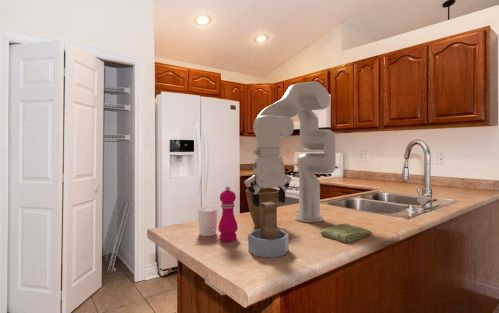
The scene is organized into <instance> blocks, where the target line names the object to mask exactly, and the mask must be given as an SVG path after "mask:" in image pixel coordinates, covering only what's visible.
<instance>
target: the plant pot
mask: <svg viewBox="0 0 499 313" xmlns="http://www.w3.org/2000/svg"><path fill="white" fill-rule="evenodd" d="M279 190H280V189H279V188H276V187H274V188H261V189H260V190H259V192H258V194H259V207H257V206H255V205H253V203H252V193H251V192H250V191H249V190H248V189H247V188H246V190H245V195H246V201H247V205H248V211H249V213H250V217H251V219H252V222H253V225H254V227H255V228H257V227H258V229H260V203H265V202H272V203H275V204H277V206H278V205H279V201H278V191H279Z"/></svg>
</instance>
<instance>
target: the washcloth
mask: <svg viewBox="0 0 499 313" xmlns="http://www.w3.org/2000/svg"><path fill="white" fill-rule="evenodd" d="M320 235H321V236H322V237H326V238H328V239H332V240H336V241H337V242H341V243H345V244H348V243H351V242H355V241H357V240H359V239H363V238H365V237H368V236H371V235H373V232H372V231H371V230H370V229H367V228H364V227H361V226H359V225H358V226H357V225H352V224H350V223H341V224H336V225H334V226H329V227H326V228H325V227H324V228H323V229H321V231H320Z"/></svg>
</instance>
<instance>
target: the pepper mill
mask: <svg viewBox="0 0 499 313" xmlns="http://www.w3.org/2000/svg"><path fill="white" fill-rule="evenodd" d="M224 189H225V190H223V191H222V192H221V193H220V195H219V200H220V202H221V203H220V206H221V208H222V213H221V217H220V220H219V224H218V231H219V233H220V234H219V240H220V241H221V242H225V243H228V242H229V243H231V242H234V240H235V241H236V240H237V231H238V228H239V227H238V222H237V220H236V218H235V214H234V213H235V212H234V208H235V201H236V198H237V197H236V193H235V192H234V191H232V190H231V186H228V185H227V186H225V188H224ZM230 241H231V242H230Z"/></svg>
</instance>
